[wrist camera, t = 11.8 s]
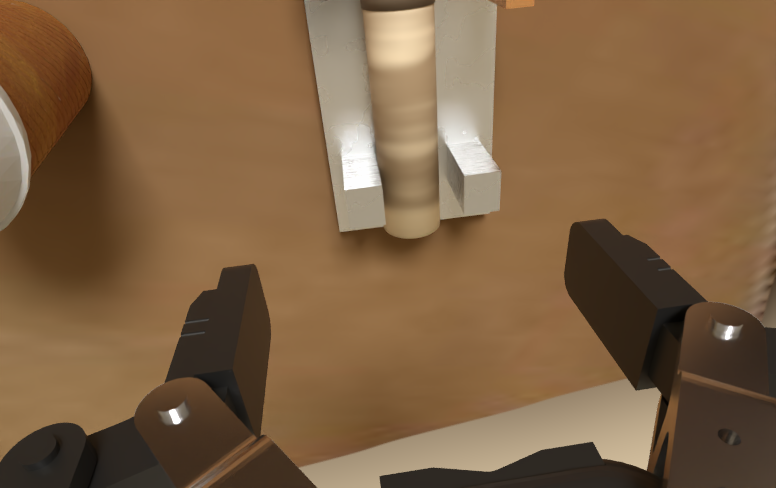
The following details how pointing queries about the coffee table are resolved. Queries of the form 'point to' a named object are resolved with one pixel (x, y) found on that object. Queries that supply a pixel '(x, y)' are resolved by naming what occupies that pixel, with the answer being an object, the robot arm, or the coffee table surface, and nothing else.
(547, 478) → the robot arm
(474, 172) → the white peg stand
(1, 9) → the disposable coffee cup
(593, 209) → the coffee table surface
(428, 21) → the dowel
